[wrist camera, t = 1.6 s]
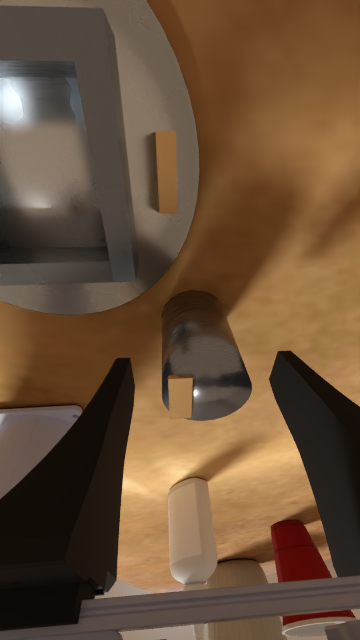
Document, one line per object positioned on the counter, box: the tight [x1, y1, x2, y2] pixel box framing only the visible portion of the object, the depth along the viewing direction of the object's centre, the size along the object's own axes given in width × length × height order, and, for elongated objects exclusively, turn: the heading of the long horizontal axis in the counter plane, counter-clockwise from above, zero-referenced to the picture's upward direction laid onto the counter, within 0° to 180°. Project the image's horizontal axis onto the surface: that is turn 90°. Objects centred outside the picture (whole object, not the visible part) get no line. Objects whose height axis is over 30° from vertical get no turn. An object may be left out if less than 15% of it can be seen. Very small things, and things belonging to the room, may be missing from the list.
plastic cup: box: [271, 520, 358, 637], centre depth 38 cm, size 11×11×12 cm
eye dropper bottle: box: [168, 478, 217, 640], centre depth 26 cm, size 4×6×12 cm
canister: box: [207, 559, 287, 640], centre depth 51 cm, size 18×18×21 cm
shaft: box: [162, 290, 252, 421], centre depth 13 cm, size 4×4×6 cm
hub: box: [0, 0, 199, 315], centre depth 10 cm, size 14×14×3 cm
